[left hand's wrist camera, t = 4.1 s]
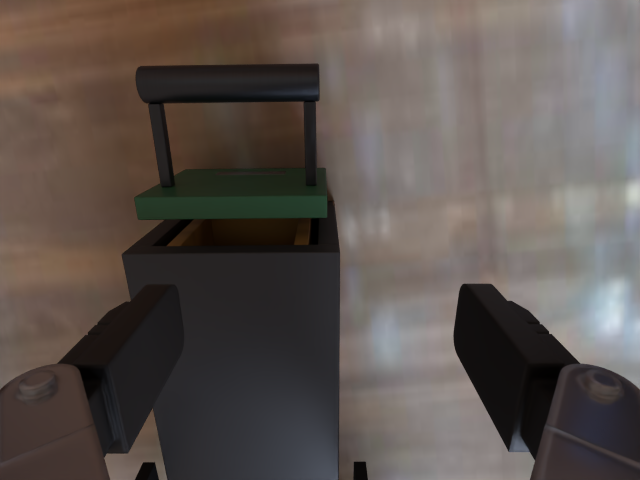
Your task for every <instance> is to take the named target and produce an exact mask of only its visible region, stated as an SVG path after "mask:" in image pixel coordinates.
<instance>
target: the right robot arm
mask: <svg viewBox="0 0 640 480" xmlns="http://www.w3.org/2000/svg"><path fill="white" fill-rule="evenodd" d="M135 480H159V479H158V474H157V470H156V465H155V462H143V464H142V466H141V468H140V470H139V472H138V475H137V477H136V479H135ZM354 480H368V478H367V469H366V462H354Z"/></svg>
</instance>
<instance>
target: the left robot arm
mask: <svg viewBox="0 0 640 480" xmlns="http://www.w3.org/2000/svg"><path fill="white" fill-rule="evenodd" d="M183 346H184V328H183V320H182V313H181V306H180V299H179V292H178V289H177V287H176V285H174V284H147V285H145V286H144V287H143V288H142V289H141V290H140V291H139V292H138V294H137V295H136V296H135V297H134V298H133V299H132V300H131V301H130V302H125V303H123V304H121V305H119V306H118V307H116V308H114V309H112V310H110V311H109V312H108V313H107V314H106V315H105V316H104V317H103V318H102V319H101V320H100V321H99V322H98V324H97V325H95V326H94V327H93V328H92V329H91V330H90V331H89V332H88V335H85V336H84V337H83V338H82V339H81V340H80V341H79V342H78V343H77V344H76V345H75V346H74V347H73V348H72V349H71V350H70V351H69V352H68V353H67V354H66V355H65V356H64V357H63V358H62V359H61V360H60V361H59V362H58V363H57V364H52V365H46V366H42V367H39V368H36V369H33V370H30V371H28V372H26V373H23V374H21V375H20V376H18V377H16V378H14V379H13V380H11V381H10V382H9V383H7V384H6V385H5V386H4V387H3V388H2V389H1V390H0V480H110V478H109V474H108V471H107V467H106V463H105V460H104V457H105V455H106V454H107V453H128V452H129V450H130V449H131V447H132V445H133V443H134V441H135V439H136V437H137V436H138V434H139V432H140V430H141V428H142V426H143V424H144V423H145V421H146V419H147V417H148V415H149V413H150V412H151V410H152V408H153V406H154V404H155V402H156V400H157V399H158V397H159V395H160V393H161V391H162V389H163V387H164V386H165V384H166V382H167V380H168V378H169V376H170V374H171V373H172V371H173V369H174V367H175V365H176V363H177V362H178V360H179V358H180V356H181V354H182V351H183ZM454 346H455V350H456V353H457V355H458V357H459V359H460V361H461V363H462V365H463V367H464V369H465V370H466V372H467V374H468V376H469V378H470V380H471V382H472V384H473V385H474V387H475V389H476V391H477V393H478V395H479V397H480V399H481V400H482V402H483V404H484V406H485V408H486V410H487V412H488V414H489V415H490V417H491V419H492V421H493V423H494V425H495V427H496V429H497V430H498V432H499V434H500V436H501V438H502V440H503V442H504V444H505V445H506V447H507V449H508V451H509V452H530V453H531V455H532V456H533V458H534V460H535V463H534V467H533V471H532V474H531V478H530V480H640V390H639V389H638V388H637V387H636V386H635V385H634V384H633V383H631V382H630V381H629V380H627V379H626V378H624V377H622V376H620V375H619V374H617V373H614V372H612V371H610V370H607V369H604V368H601V367H598V366H594V365H588V364H580V363H579V362H578V361H577V360H576V359H575V358H574V357H573V356H572V355H571V354H570V353H569V352H568V351H567V350H566V348H565V347H564V346H563V345H562V344H561V343H560V342H559V341H558V340H557V339H556V338H555V337H554V336H553V335H552V334H549V331H548V330H547V329H546V328H545V327H544V326H543V325H542V324H540V322H539V321H538V320H537V319H536V318H535V317H534V316H533V315H532V314H531V313H530V312H529V311H528V310H526V309H525V308H523V307H521V306H519V305H518V304H516V303H514V302H512V301H507V300H506V299H505V298H504V297H503V296H502V295H501V293H500V292H499V291H498V290H497V289H496V288H495V287H494V286H493V285H492V284H463V285H462V286H461V288H460V291H459V297H458V305H457V312H456V319H455V326H454Z"/></svg>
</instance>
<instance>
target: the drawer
mask: <svg viewBox="0 0 640 480" xmlns="http://www.w3.org/2000/svg"><path fill="white" fill-rule="evenodd" d="M136 86H137V90H138V93H139V96H140V98H141V99H142V101H143V102H145V103H150V104H148V106H149V112H150V118H151V125H152V131H153V138H154V144H155V151H156V157H157V163H158V170H159V176H160V184H158V185H156V186H154V187H153V188H151V189H149V190H147V191H145V192H143V193H141V194H140V195H138V196H136V197H135V198H134V200H135V205H136V211H137V216H138V219H139V220H171V219H194V220H193V221H192V222H191V223H190V224H189V225H188V226H187V227H186V228H185V229H183V230H182V231H181V232H180V233H179V234H178V235H177V236H176V237H175V238H174V239H173V240H172V241H171V242H170V243H169V244H168V245H167V246H229V245H312V218H327V183H326V169H325V168H317V158H316V102H315V101H319V64H254V65H180V66H140V67H138V69H137V71H136ZM303 101H305V102H304V135H305V168H272V169H186V170H184V171H182V172H180V173H178V174H177V175H175V176H174V173H173V166H172V159H171V152H170V145H169V138H168V131H167V124H166V117H165V110H164V104H163V103H225V102H303Z"/></svg>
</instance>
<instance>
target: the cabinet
mask: <svg viewBox="0 0 640 480" xmlns="http://www.w3.org/2000/svg"><path fill="white" fill-rule="evenodd" d="M193 220H194V219H171V220H164V221H163V222H162V223H160V224H159V225H158V226H157V227H155V228H154V229H153V230H151V231H150V232H149V233H148V234H146V235H145V236H144V237H143V238H141V239H140V240H139V241H138V242H136V243H135V244H134V245H133V246H132V247H130V248H129V249H128V250H126V251H125V252H124V253H123V254H122V259H123V264H124V268H125V273H126V278H127V283H128V288H129V293H130V298H131V300H132V299H133V298H134V297H135V296H136V295H137V294H138V292H139V291H140V290H141V289H142V288H143V287H144V286H145V285H147V284H174V285H176V287H177V289H178V292H179V299H180V306H181V313H182V320H183V328H184V346H183V351H182V354H181V356H180V358H179V360H178V362H177V363H176V365H175V367H174V369H173V371H172V373H171V374H170V376H169V378H168V380H167V382H166V384H165V386H164V387H163V389H162V391H161V393H160V395H159V397H158V399H157V400H156V402H155V404H154V406H153V411H154V416H155V420H156V425H157V430H158V435H159V440H160V445H161V450H162V455H163V460H164V465H165V469H166V474H167V479H168V480H339V335H340V248H339V240H338V231H337V223H336V214H335V204H334V201H327V218H312V245H229V246H167V245H168V244H169V243H170V242H171V241H172V240H173V239H174V238H175V237H176V236H177V235H178V234H179V233H180V232H181V231H182V230H183V229H185V228H186V227H187V226H188V225H189V224H190V223H191V222H192V221H193Z"/></svg>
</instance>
